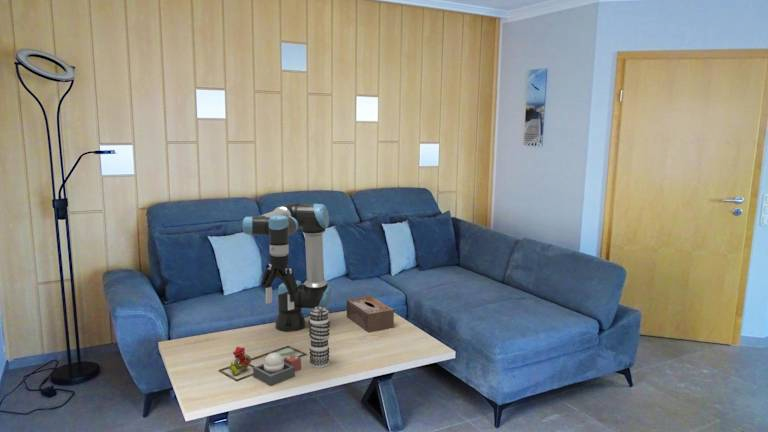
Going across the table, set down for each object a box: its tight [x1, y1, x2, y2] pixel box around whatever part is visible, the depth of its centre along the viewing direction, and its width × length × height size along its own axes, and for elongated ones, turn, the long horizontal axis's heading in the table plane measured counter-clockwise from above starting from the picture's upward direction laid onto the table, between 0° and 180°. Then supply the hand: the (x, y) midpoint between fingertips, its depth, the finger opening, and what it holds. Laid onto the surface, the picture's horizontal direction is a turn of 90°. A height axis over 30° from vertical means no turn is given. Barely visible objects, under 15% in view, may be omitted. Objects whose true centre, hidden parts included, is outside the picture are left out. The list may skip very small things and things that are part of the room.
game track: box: [218, 345, 308, 382], centre depth 239 cm, size 14×36×1 cm, turn 137°
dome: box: [263, 353, 284, 375], centre depth 225 cm, size 8×8×8 cm
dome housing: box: [252, 355, 302, 387], centre depth 228 cm, size 12×18×6 cm, turn 137°
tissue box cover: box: [346, 295, 395, 334], centre depth 289 cm, size 26×14×10 cm, turn 29°
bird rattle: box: [228, 346, 252, 375], centre depth 230 cm, size 6×11×9 cm
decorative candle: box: [307, 306, 331, 369], centre depth 237 cm, size 9×9×25 cm
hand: (279, 306), depth 223 cm, fingers open, 13 cm apart
